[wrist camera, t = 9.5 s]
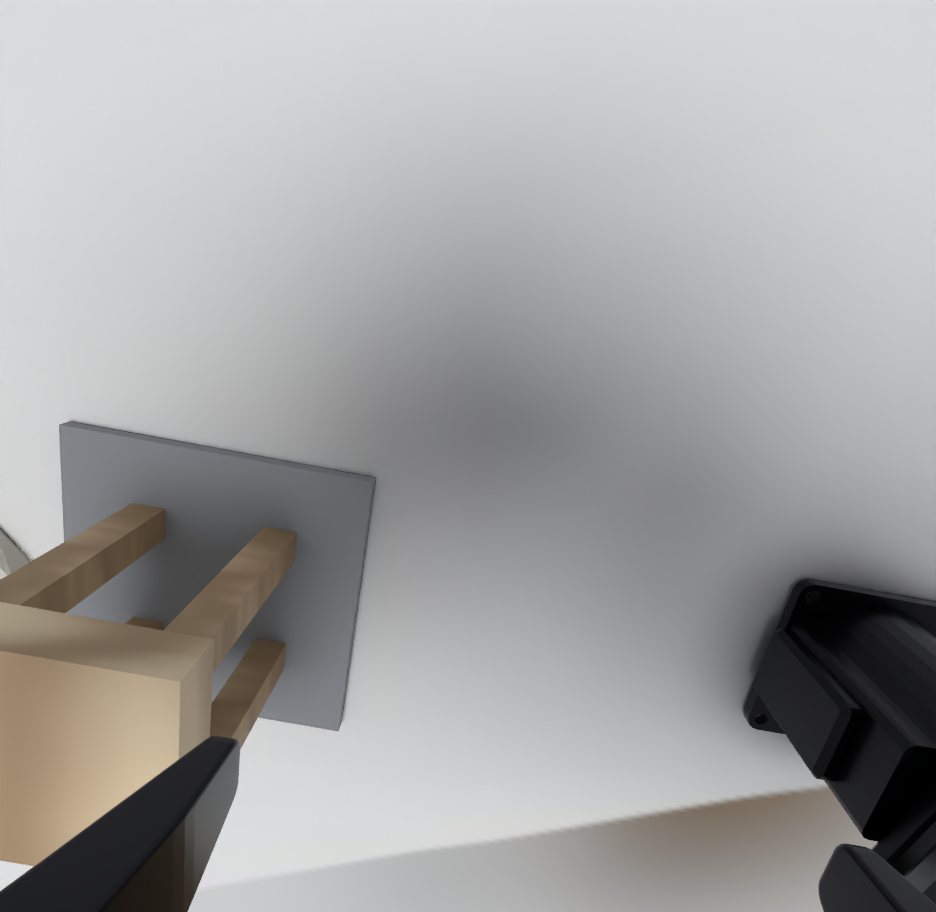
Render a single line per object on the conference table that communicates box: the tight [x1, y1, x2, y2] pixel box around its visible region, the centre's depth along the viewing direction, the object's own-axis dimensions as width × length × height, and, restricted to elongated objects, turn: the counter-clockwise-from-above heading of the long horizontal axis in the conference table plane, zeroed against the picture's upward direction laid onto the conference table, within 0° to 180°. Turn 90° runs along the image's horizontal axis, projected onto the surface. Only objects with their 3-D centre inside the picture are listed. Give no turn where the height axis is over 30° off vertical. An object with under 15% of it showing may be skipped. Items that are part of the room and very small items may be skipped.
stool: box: [0, 503, 297, 866], centre depth 16 cm, size 6×6×8 cm
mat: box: [59, 422, 375, 731], centre depth 20 cm, size 11×11×1 cm
